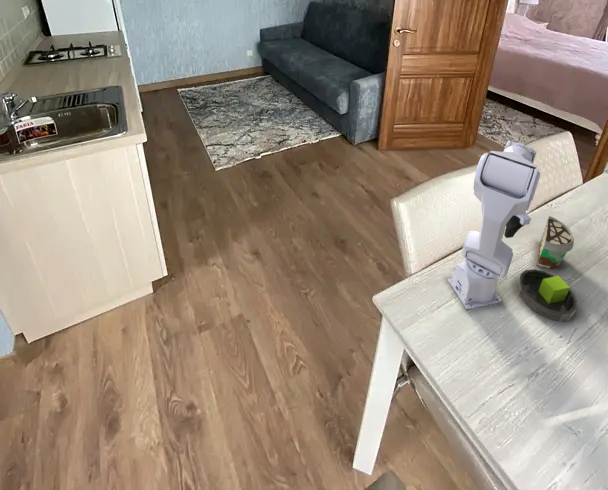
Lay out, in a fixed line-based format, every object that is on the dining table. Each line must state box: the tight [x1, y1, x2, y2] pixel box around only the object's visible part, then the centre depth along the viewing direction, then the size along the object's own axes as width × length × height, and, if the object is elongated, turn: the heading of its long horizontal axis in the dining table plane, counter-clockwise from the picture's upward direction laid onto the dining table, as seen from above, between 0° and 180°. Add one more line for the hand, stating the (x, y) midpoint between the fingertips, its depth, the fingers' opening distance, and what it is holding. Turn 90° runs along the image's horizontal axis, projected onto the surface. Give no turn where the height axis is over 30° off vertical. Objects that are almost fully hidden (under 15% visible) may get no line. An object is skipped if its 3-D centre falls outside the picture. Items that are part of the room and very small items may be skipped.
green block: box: [538, 275, 571, 303], centre depth 84 cm, size 4×3×4 cm
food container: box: [535, 215, 575, 270], centre depth 93 cm, size 12×6×10 cm, turn 143°
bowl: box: [516, 268, 578, 323], centre depth 84 cm, size 12×12×3 cm
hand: (498, 225), depth 94 cm, fingers open, 7 cm apart
